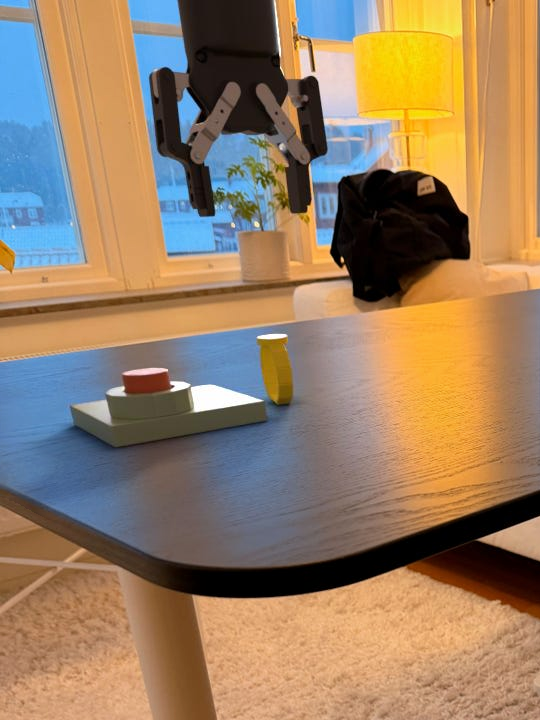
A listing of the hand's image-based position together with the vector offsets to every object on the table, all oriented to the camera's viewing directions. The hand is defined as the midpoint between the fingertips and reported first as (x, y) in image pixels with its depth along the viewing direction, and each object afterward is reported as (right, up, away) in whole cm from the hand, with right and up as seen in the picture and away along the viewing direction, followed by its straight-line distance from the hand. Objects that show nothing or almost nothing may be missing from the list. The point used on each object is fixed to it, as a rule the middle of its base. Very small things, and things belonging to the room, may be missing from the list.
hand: (254, 215), depth 76 cm
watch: (+1, -14, +7) cm, 16 cm away
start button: (-8, -17, -4) cm, 19 cm away
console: (-7, -18, +1) cm, 19 cm away
